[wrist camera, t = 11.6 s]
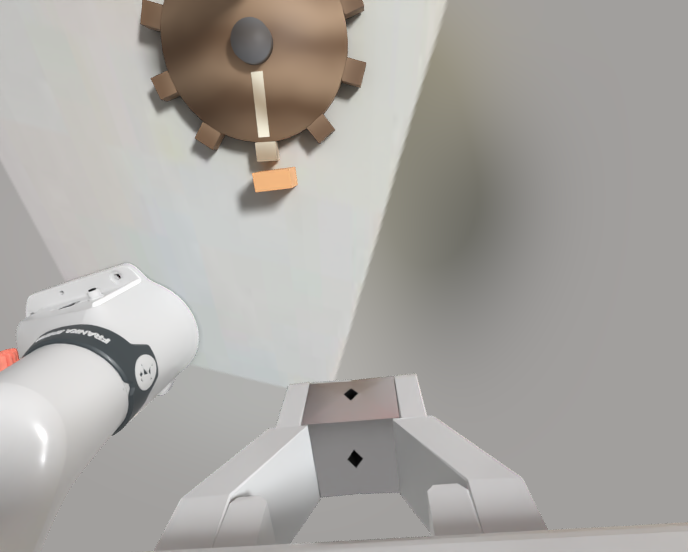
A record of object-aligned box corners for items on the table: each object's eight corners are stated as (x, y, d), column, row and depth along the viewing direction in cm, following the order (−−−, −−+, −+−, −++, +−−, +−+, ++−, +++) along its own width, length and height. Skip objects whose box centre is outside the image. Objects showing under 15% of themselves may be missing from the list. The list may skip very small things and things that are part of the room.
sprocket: (369, 154, 45) (372, 157, 34) (173, 166, 46) (114, 172, 35) (359, -99, 38) (359, -200, 27) (129, -77, 39) (38, -165, 28)
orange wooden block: (264, 188, 47) (255, 192, 43) (261, 171, 46) (252, 173, 42) (297, 184, 46) (292, 188, 43) (295, 166, 46) (289, 168, 42)
